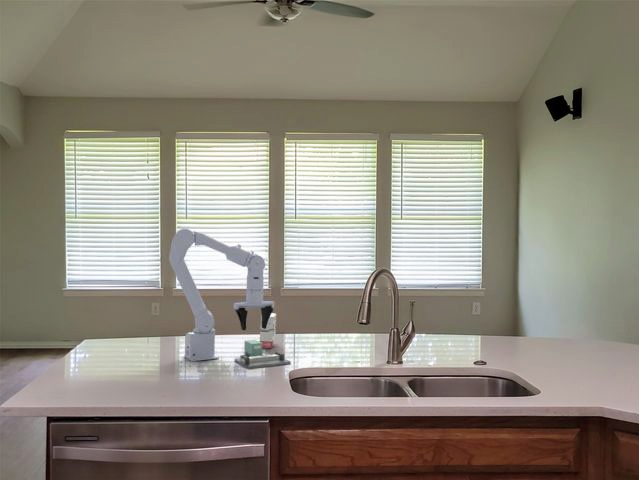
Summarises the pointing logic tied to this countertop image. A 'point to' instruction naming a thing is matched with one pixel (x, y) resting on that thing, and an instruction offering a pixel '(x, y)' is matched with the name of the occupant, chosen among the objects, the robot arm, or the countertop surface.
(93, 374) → the countertop surface
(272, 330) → the ink box
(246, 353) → the block
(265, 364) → the rail plate
